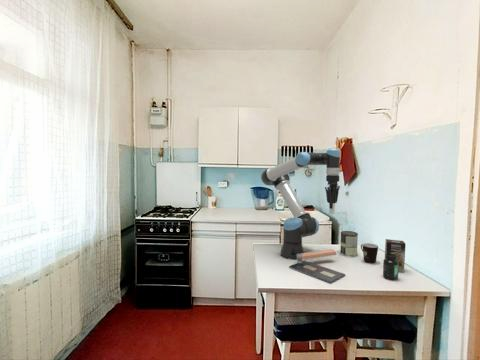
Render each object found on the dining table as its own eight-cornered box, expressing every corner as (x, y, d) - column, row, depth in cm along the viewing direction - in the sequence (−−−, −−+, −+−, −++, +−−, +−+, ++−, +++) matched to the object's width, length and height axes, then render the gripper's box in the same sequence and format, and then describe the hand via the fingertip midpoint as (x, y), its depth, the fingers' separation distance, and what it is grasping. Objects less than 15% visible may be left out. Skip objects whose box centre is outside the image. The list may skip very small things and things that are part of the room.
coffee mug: (379, 264, 156) (380, 248, 155) (363, 263, 157) (364, 247, 157) (373, 258, 167) (374, 242, 166) (359, 257, 169) (359, 241, 168)
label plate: (289, 267, 151) (289, 261, 151) (304, 262, 160) (304, 255, 160) (330, 283, 131) (330, 276, 131) (345, 276, 140) (345, 269, 140)
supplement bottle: (399, 281, 134) (400, 257, 133) (384, 279, 136) (385, 256, 135) (395, 275, 141) (396, 253, 140) (381, 274, 142) (382, 252, 142)
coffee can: (337, 254, 174) (338, 232, 173) (344, 250, 181) (344, 230, 181) (353, 258, 167) (353, 235, 166) (359, 254, 174) (360, 232, 173)
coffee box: (385, 270, 147) (386, 241, 146) (383, 266, 153) (385, 238, 152) (404, 273, 144) (405, 243, 143) (402, 268, 150) (403, 240, 149)
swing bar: (299, 260, 151) (299, 256, 151) (294, 258, 155) (295, 253, 155) (336, 255, 160) (336, 251, 160) (331, 253, 164) (331, 248, 164)
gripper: (332, 175, 154) (331, 216, 155) (344, 174, 162) (343, 213, 164) (321, 174, 159) (320, 214, 161) (333, 174, 168) (332, 211, 169)
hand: (331, 213), depth 162 cm, fingers closed
